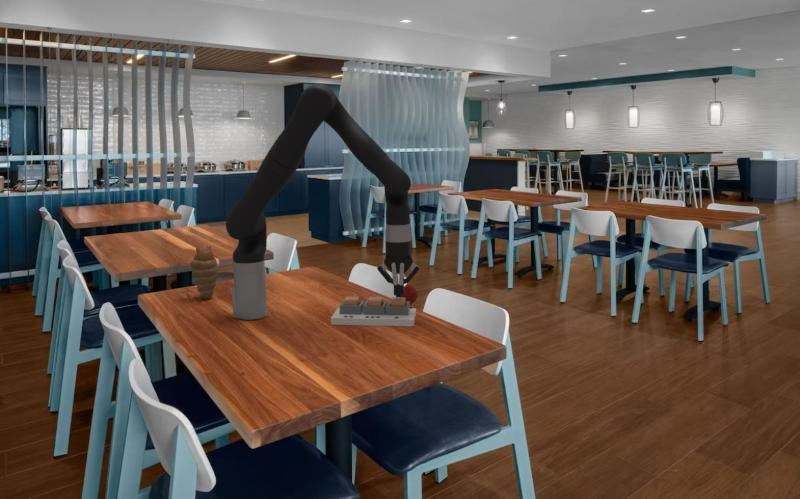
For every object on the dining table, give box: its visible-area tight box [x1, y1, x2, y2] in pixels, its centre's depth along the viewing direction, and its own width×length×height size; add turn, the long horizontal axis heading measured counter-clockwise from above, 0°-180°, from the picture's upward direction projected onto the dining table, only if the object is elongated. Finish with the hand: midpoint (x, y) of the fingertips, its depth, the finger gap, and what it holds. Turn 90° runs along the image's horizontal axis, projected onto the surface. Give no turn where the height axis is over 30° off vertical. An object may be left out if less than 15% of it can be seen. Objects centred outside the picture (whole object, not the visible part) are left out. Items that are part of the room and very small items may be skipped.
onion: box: [399, 281, 419, 306], centre depth 194 cm, size 6×6×8 cm
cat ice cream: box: [190, 245, 219, 300], centre depth 203 cm, size 9×8×18 cm
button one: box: [390, 296, 406, 306], centre depth 179 cm, size 4×4×2 cm
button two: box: [344, 296, 361, 305], centre depth 181 cm, size 4×4×2 cm
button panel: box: [330, 300, 417, 327], centre depth 179 cm, size 24×12×4 cm, turn 85°
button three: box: [366, 296, 384, 306], centre depth 180 cm, size 4×4×2 cm
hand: (398, 296), depth 179 cm, fingers closed
